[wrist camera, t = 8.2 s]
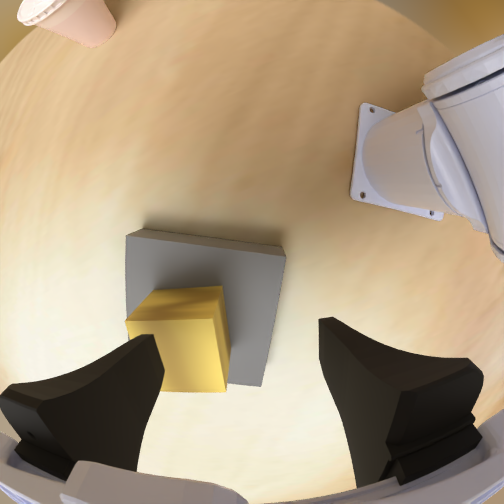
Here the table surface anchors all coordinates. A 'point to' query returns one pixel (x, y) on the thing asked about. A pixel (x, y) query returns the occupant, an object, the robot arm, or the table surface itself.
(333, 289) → the table surface
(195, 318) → the mustard cube
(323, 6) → the table surface
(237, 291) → the base block
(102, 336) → the table surface
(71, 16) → the smoothie
